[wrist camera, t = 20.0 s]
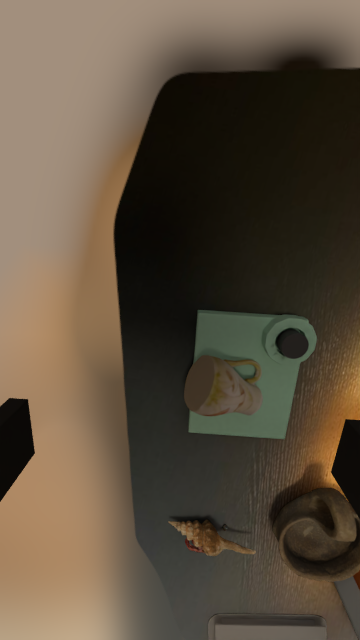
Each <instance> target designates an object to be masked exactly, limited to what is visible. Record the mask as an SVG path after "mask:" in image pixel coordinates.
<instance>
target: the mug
mask: <svg viewBox="0 0 360 640" xmlns="http://www.w3.org/2000/svg"><path fill="white" fill-rule="evenodd" d="M247 364H248V365H253V366H254V367H255V369H256V372H255V376H254V377H253V378H248V379H245V380H243V379H242V378H241V377H240V376H239V374H238V373H237V372H236V371H235V370H234V369H233V367H235V366H240V365H247ZM261 376H262V369H261V366H260V364H259V363H257V362H256V361H253V360H248V359H247V360H238V361H232V360H226V359H225V360H222V359H220V358H217V357H214V356H209V355H202V356H201V357H200V358H199V359H198V360H197V361H196V362H195V363H194V364H193V365H192V367H191V369H190V370H189V373H188V375H187V378H186V382H185V389H184V400H185V402H186V405H187V407H188V408H189V409H190V410H191V411H192V412H195V413H197V414H199V415H202V416H218V415H223V414H228V413H233V412H237V413H242V414H245V415H253V414H254V413H256V412H257V411H258V410H259V409H260V407H261V405H262V402H263V396H262V393H261V390H260V389H259V388H258V387H257V386H256V385H255V382H257V381H258V380H260V378H261Z"/></svg>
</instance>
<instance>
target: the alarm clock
mask: <svg viewBox="0 0 360 640" xmlns="http://www.w3.org/2000/svg"><path fill="white" fill-rule="evenodd" d="M334 584H335V586H336V589H337V591H338V593H339V596H340V598H341V600H342V603H343V605H344V607H345V610H346V612H347V614H348V617H349V619H350V621H351V624H352V626H353V628H354V631H355V633H356V635H357V638H358V640H360V570H359V571H358V573H356V574H354V575H353V576H352V577H350V578H348V579H346V580H342V581H334Z"/></svg>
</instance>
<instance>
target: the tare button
mask: <svg viewBox="0 0 360 640" xmlns="http://www.w3.org/2000/svg"><path fill="white" fill-rule="evenodd" d="M277 347H278V348H279V350H280V351H281V352H282V353H283V354H284V355H285V356H286V357H287V358H290V359H297V358H300V357H302V356H303V355H304V354H305V353H306V352H307V350H308V347H309V343H308V340H307V338H306V337H305V336H304V335H302V334H301V333H300V332H299V331H297V330H294V329H288V330H285V331H283V332H282V333H281V334H280V335H279V336H278V338H277Z"/></svg>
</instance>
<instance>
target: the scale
mask: <svg viewBox="0 0 360 640" xmlns="http://www.w3.org/2000/svg"><path fill="white" fill-rule="evenodd" d="M288 329H294V330H297V331H299V332H300V333H301V334H302V335H304V336H305V337H306V338H307V340H308V343H309V347H308V350H307V352H306V353H305V354H304V355H303V356H302V357H300V358H297V359H290V358H287V357H286V356H285V355H284V354H283V353H282V352H281V351H280V350H279V348H278V347H277V338H278V336H279V335H280V334H281V333H282V332H283V331H285V330H288ZM316 340H317V337H316V334H315V331H314V329H313V327H312V325H310V324H309V323H308V320H307V319H306V318H304V317H299V316H297V315H286V314H284V315H269V314H254V313H239V312H223V311H208V310H198V312H197V324H196V336H195V349H194V361H193V364H194V363H195V362H196V361H197V360H198V359H199V358H200V357H201V356H202V355H209V356H214V357H217V358H220V359H222V360H225V359H226V360H232V361H238V360H247V359H248V360H253V361H256V362H257V363H259V364H260V366H261V369H262V376H261V378H260V380H258V381H257V382H255V385H256V386H257V387H258V388H259V389H260V390H261V393H262V396H263V402H262V405H261V407H260V409H259V410H258V411H257V412H256V413H254V414H253V415H245V414H242V413H237V412H233V413H228V414H223V415H218V416H202V415H199V414H197V413H195V412H192V411H191V410H189V423H188V432H191V433H205V434H219V435H233V436H247V437H261V438H275V439H285V435H286V430H287V425H288V420H289V415H290V410H291V405H292V400H293V395H294V390H295V385H296V380H297V375H298V370H299V365H300V362H302V361H305V360H306V359H307V358H308V357H309V356H310V355H311V353H312V352H313V351H314V349H315V345H316ZM233 369H234V370H235V371H236V372H237V373H238V374H239V376H240V377H241V378H242V379H243V380H245V379H248V378H253V377H254V376H255V372H256V369H255V367H254V366H253V365H248V364H247V365H240V366H235V367H233Z"/></svg>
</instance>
